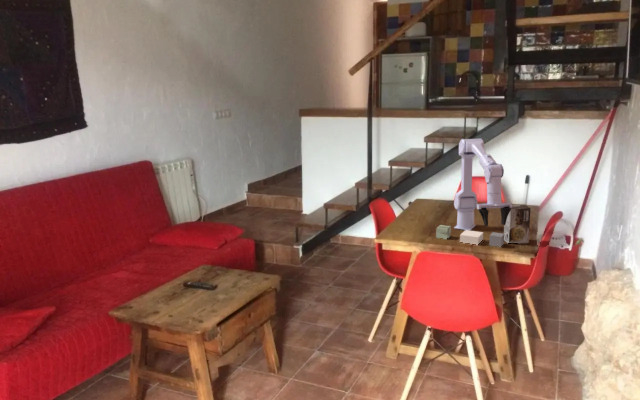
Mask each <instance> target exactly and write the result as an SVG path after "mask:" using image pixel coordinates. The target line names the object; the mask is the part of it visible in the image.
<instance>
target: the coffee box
mask: <svg viewBox="0 0 640 400" xmlns="http://www.w3.org/2000/svg"><path fill="white" fill-rule="evenodd" d="M509 208H511V211H510V212H509V214H508V217H507V220H506V224H505V225H503V234H505V235H504V242H505V243H507V244H508V243H518V244H529V243H530V241H529V240H530V225H531V224H530V223H531V207H529V206H528V205H526V204H512V207H509Z"/></svg>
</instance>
